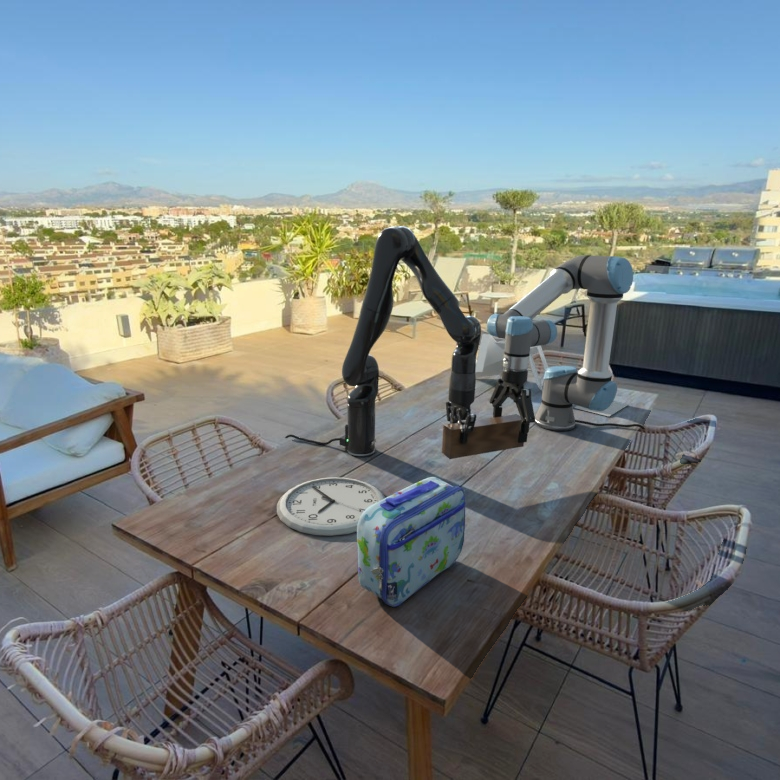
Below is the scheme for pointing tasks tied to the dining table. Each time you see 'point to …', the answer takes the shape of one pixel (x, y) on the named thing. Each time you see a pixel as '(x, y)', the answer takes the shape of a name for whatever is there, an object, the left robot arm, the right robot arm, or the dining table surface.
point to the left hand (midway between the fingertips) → (458, 439)
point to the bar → (482, 437)
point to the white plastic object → (501, 358)
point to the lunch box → (410, 539)
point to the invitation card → (609, 411)
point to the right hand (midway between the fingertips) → (508, 434)
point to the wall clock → (327, 505)
